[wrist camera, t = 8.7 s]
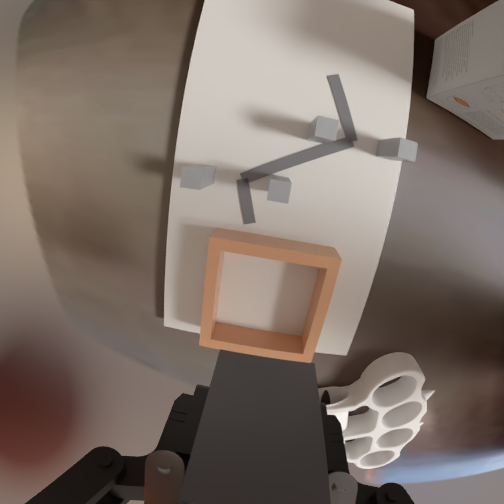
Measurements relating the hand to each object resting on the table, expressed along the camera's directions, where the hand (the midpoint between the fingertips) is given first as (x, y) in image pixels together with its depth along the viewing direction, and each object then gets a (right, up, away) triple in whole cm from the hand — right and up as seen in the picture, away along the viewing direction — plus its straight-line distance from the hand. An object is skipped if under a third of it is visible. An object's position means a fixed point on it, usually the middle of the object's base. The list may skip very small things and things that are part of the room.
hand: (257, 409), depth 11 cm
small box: (+18, +20, +6) cm, 28 cm away
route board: (+2, +13, +9) cm, 16 cm away
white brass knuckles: (+13, -11, +17) cm, 24 cm away
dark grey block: (0, 0, +1) cm, 1 cm away
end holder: (+1, +4, +12) cm, 13 cm away
